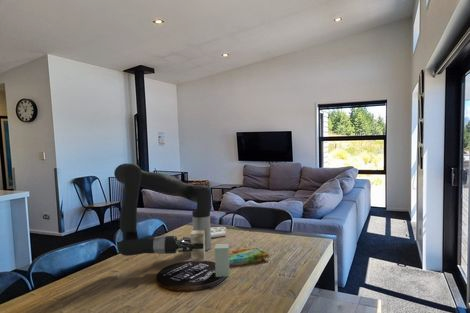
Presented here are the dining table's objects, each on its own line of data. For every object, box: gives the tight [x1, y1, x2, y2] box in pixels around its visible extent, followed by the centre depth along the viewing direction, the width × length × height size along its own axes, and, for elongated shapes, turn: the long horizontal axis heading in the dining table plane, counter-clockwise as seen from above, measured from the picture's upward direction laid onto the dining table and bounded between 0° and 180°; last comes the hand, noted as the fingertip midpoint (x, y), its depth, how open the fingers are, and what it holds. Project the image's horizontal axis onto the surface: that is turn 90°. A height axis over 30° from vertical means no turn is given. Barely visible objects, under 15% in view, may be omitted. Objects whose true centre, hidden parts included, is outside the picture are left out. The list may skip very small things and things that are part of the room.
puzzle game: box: [229, 246, 270, 267], centre depth 158 cm, size 12×5×20 cm
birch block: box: [190, 230, 206, 262], centre depth 149 cm, size 6×6×12 cm
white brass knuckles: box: [210, 226, 227, 239], centre depth 204 cm, size 3×18×15 cm
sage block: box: [214, 243, 230, 278], centre depth 142 cm, size 6×6×12 cm
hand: (203, 243), depth 149 cm, fingers closed on birch block, 5 cm apart
